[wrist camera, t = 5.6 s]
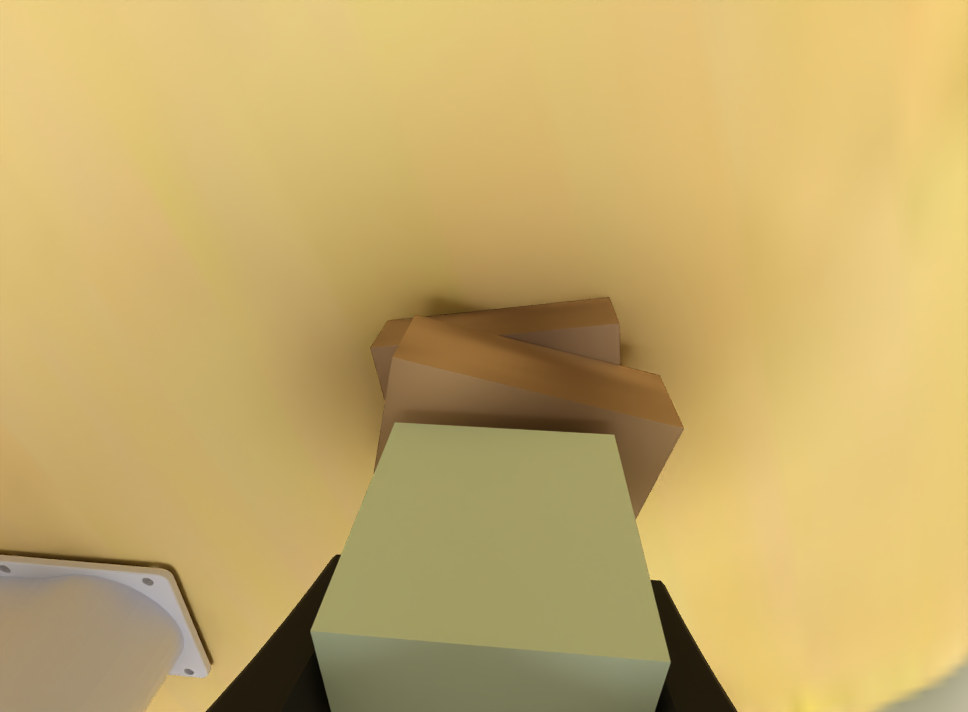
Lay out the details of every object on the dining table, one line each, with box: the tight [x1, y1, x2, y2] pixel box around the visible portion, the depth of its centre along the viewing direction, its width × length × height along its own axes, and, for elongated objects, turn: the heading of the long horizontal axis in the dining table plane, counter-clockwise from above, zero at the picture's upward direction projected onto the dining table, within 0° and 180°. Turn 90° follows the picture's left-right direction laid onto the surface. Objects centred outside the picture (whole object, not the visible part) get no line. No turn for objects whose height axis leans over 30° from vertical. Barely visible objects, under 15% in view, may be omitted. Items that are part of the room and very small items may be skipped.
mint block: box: [310, 422, 671, 712], centre depth 10 cm, size 5×5×5 cm
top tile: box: [374, 315, 684, 520], centre depth 14 cm, size 7×7×2 cm
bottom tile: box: [370, 297, 620, 400], centre depth 16 cm, size 7×7×2 cm
